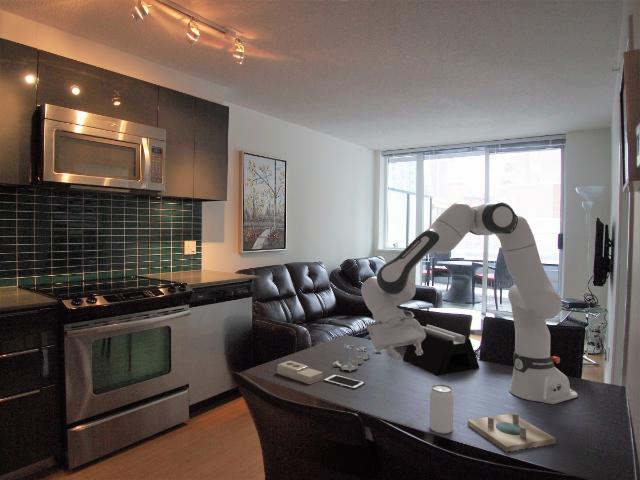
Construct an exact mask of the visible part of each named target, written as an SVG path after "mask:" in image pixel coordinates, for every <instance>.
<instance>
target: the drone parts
mask: <svg viewBox="0 0 640 480" xmlns="http://www.w3.org/2000/svg"><path fill="white" fill-rule="evenodd" d="M343 345H344V346H343V347H344V348H345V350H346V349H348V348H349V350H352V348H354V347H355V344H352V345H350V344H349V345H348V344H346V343H344V344H343ZM344 348H343V349H344ZM355 349H356V350H357V351H358V352H357V353H356V354H354V357H352V358H351V357H350V358H348V361H345V362H342V363H339V362H340V361H339V360H337V361H334V362H333V363H332V365H333V366H335V365H337V366H338V367H340V369H341V371H344V370H345V371H349V372H350V373H351V372H352V371H355V370H357V369H359V365H362V364H364V363H365V361H364V360H367V361H368V360H369V359H371V354H369V353H364V354H363V353H362V352H367V349H368V345H366V346H363V345H361V346H360V347H359V348H355ZM359 352H361V353H359ZM373 352H374V353H376V354H377V353H382V352H383V350H377V349H376V348H374V349H373Z"/></svg>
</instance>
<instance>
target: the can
mask: <svg viewBox="0 0 640 480" xmlns="http://www.w3.org/2000/svg"><path fill="white" fill-rule="evenodd" d="M429 396H430V397H429V428H430V430H432V431H433V432H435V433H437V434H441V435H447V434H448V435H449V434H450V433H452V432H453V430H454V428H453V427H454V392H453V388H452V387H450V386H449V385H446V384H434V385H431V390H430V392H429Z"/></svg>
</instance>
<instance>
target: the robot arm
mask: <svg viewBox="0 0 640 480" xmlns="http://www.w3.org/2000/svg"><path fill="white" fill-rule="evenodd" d="M468 233H469V234H472V235H476V236H492V235H495V236H496V237H497V239H498V241H499V242H500V248H501V251H502V255H503V258H504V262H505V265H506V269H507V272H508V274H509V275H510V276H511V279H512V281H513V282H514V284H513V285H512V286H511V287H510V288H509V290H508V294H507V297H508V300H509V301H508V302H509V303H510V306H511V313H512V318H513V322H514V323H513V325H514V331H515V334H514V335H515V338H514V339H515V340H514V341H515V342H514V344H515V346H514V349H515V350H514V351H513V364H514V365H513V370H512V378H511V382H510V386H509V392H510V393H511V394H512V395H513V396H515V397H518V398H521V399H524V400H528V401H534V402H541V403H545V404H549V405H555V404H558V403H562V402H565V401H569V400H571V399H572V400H573V399H575V398H577V397H578V393H577V392H576V391H575V390H573V389H571V387H570V381H569V378H568V376H566V374H564V373H563V372H562V371H560V369H558V368H557V367H555V364H554V363H556V364H559V363H560V362H561V359H560V357H558V356H556V355H555V356H554V355H553V356H551V333H550V329H549V328H548V326H547V325H548V324H547V322H546V321H547V320H551V319H554V318H556V317H557V316H559V314H560V313H561V312H562V309H563V301H562V298H561V296H560V295H559V294H558V293H557V291H556V290H555V288H554V287H553V284H552V283H551V280H550V278H549V276H548V275H547V273H546V270H545V268H544V265H543V263H542V261H541V257H540V253H539V251H538V250H539V249H538V246H537V243H536V240H535V235H534V233H533V230H532V229H531V226H530V224H529V223H528V221H527V219H526V218H525V217H523V216H520V215H517V214H516V213H515V210H514V209H513V208H512V207H511V206H510V205H509V204H507V203H506V202H503V201H502V202H501V201H492V202H486V203H482V204H480V205H477V206H470V205H468V204H467V203H466V202H459V201H457V202H454V203H453V204H451V205H450V206H449V207H447V209H445V210H444V211H443V212H442V213H441V214H440V215H439V216H438V217H436V219H435V220H434V222H433V223H432V224H431V225H430V226H429V227H428V228H427V229H426V230H425V231H423V232H422V233H420V234H419V235H418V236H417V237H416V238H414V239H413V241H411V242H410V244H409V245H408V246H406V247H405V248H404V250H402V252H400V253H399V254H398V255H397V256H396V257H395V258H393V259H391V260H390V261H388V262H386V263H385V264H383V265H382V266H381V267H380V269H379V270H378V271H377V274H376V276H370V277H369V278H367V279H366V280H364V282H363V284H362V285H361V287H360V288H361V289H360V291H361V296H362V298H363V301H364V303H365V305H366V307H367V309H368V310H369V311H370V312H371V313H372V318H373V320H374V322H368V324H367V325H366V330H367V331H368V333H369V337H370V341H371V343H372V346H373V347H374V349H377V350H381V351H383V350H386V352H387V353H389V355H391V356H392V357H393V359H394V360H395V361H398V360H400V359H401V358H402V355H401V352H398V351H397V350H396V349H394V348H398V347H404V346H408V345H410V344H413V345H414V346H416V351H415V353H416V354H417V355H422V354H423V351H422V349H421V342H422V341H423V340H424V339H425V338H426V334H425V332H424V330H423V328H422V327H421V326H422V325H421V324H420V322H419V321H418V319H416V318H414V317H415V314H414V313H413V312H412V311H410V310H409V311H408V310H405V309H402V308H399V306H400V305H404V304H405V303H408V302H410V301H411V300H412V299H413V298H414V297H415V295H416V291H417V285H416V283H415V282H414V280H413V278H412V277H411V272H412V270H413V269H414V268H415V267H416V266H418V264H419V263H420V262H421V261H422V260H423V259H424V258H425V257H426V256H427V255H428V254H432V253H434V254H435V253H436V254H441V255H442V254H443V255H444V254H448V253H450V252H452V251H453V250H454V249H455V248H456V247H457V246H458V245H459V244H460V243H461V241H462V240H463V239H464V237H466V235H467V234H468Z"/></svg>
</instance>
